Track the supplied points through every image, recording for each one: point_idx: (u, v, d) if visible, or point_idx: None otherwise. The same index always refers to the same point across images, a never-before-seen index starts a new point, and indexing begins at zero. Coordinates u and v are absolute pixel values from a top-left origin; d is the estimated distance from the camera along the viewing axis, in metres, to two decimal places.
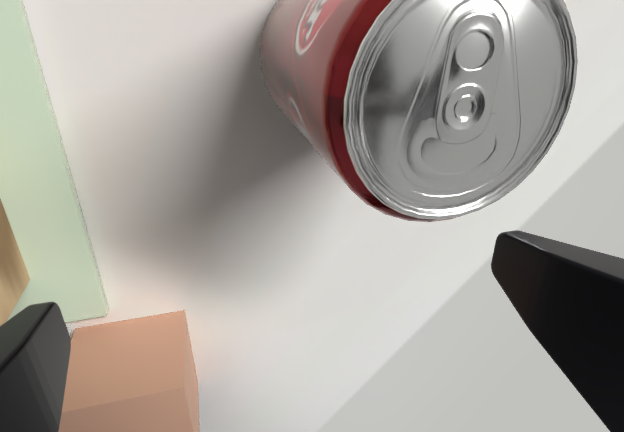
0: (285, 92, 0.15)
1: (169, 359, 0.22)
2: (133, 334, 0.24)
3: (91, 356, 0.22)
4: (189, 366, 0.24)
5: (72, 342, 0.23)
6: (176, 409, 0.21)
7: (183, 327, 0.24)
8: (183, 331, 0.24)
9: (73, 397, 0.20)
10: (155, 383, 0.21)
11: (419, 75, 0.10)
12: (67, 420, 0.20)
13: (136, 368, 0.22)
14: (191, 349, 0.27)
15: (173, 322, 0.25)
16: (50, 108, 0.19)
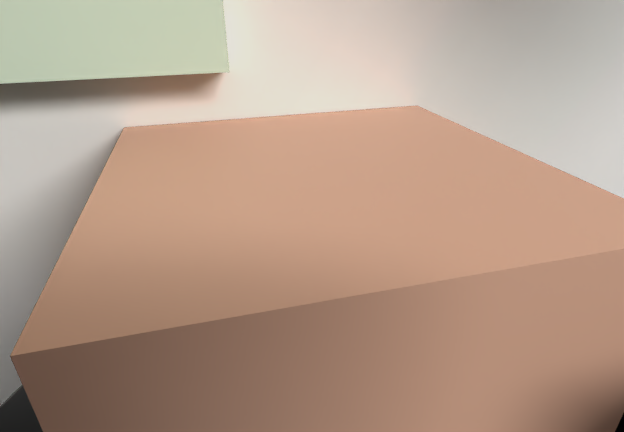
0: None
1: (503, 170, 0.06)
2: (311, 133, 0.07)
3: (199, 167, 0.06)
4: None
5: (121, 146, 0.07)
6: (615, 351, 0.05)
7: (455, 124, 0.08)
8: (465, 129, 0.08)
9: (168, 272, 0.04)
10: (543, 225, 0.04)
11: None
12: (145, 393, 0.03)
13: (400, 189, 0.05)
14: None
15: (414, 119, 0.08)
16: None
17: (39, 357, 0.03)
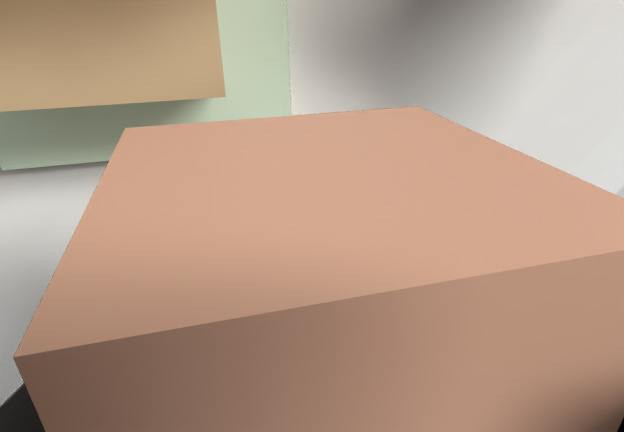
0: None
1: (505, 171, 0.06)
2: (313, 134, 0.07)
3: (200, 167, 0.06)
4: None
5: (122, 147, 0.07)
6: (617, 350, 0.05)
7: (456, 125, 0.08)
8: (467, 129, 0.08)
9: (170, 272, 0.04)
10: (546, 227, 0.04)
11: None
12: (148, 395, 0.03)
13: (402, 190, 0.05)
14: None
15: (415, 119, 0.08)
16: None
17: (43, 358, 0.03)
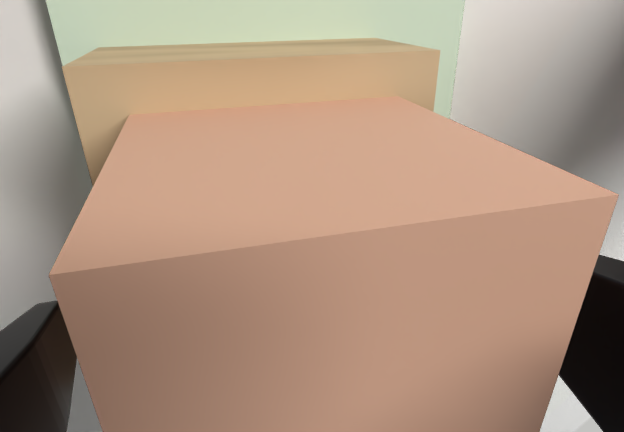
0: None
1: (464, 148, 0.07)
2: (299, 119, 0.08)
3: (196, 146, 0.07)
4: None
5: (127, 130, 0.08)
6: (551, 296, 0.05)
7: (429, 111, 0.09)
8: (438, 115, 0.08)
9: (171, 220, 0.05)
10: (486, 189, 0.05)
11: None
12: (152, 313, 0.04)
13: (372, 162, 0.06)
14: None
15: (393, 107, 0.09)
16: None
17: (70, 278, 0.04)
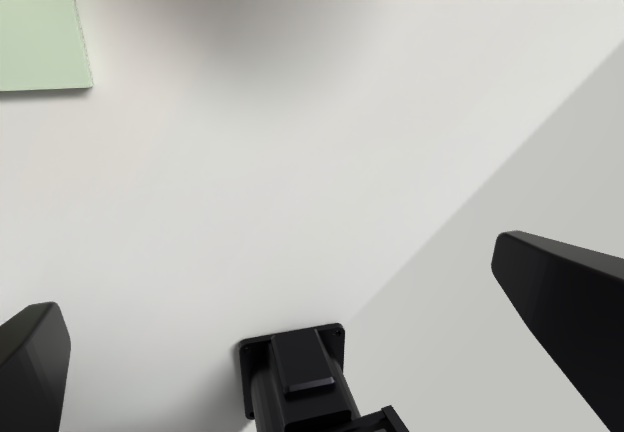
0: None
1: None
2: None
3: None
4: None
5: None
6: None
7: None
8: None
9: None
10: None
11: None
12: None
13: None
14: None
15: None
16: None
17: None
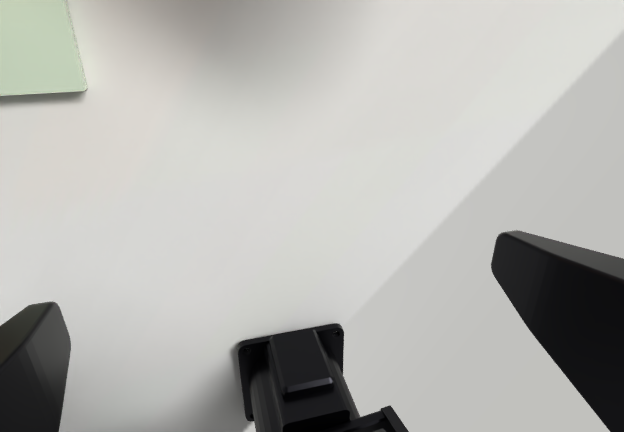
0: None
1: None
2: None
3: None
4: None
5: None
6: None
7: None
8: None
9: None
10: None
11: None
12: None
13: None
14: None
15: None
16: None
17: None
